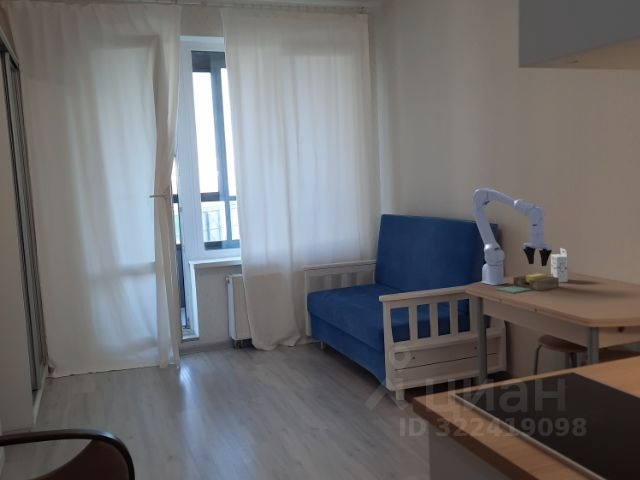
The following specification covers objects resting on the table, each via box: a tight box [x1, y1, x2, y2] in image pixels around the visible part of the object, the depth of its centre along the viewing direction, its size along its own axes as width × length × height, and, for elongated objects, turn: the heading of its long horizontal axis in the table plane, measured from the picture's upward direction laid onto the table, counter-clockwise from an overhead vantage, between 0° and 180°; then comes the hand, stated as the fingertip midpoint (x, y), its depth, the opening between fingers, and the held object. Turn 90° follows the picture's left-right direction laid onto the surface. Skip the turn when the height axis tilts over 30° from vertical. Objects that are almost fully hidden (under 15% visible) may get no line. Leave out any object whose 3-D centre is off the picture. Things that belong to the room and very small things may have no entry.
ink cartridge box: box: [550, 247, 569, 283], centre depth 282 cm, size 9×5×15 cm, turn 179°
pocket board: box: [513, 273, 560, 291], centre depth 273 cm, size 14×12×4 cm
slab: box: [526, 273, 547, 282], centre depth 273 cm, size 4×8×3 cm, turn 116°
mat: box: [496, 285, 532, 294], centre depth 268 cm, size 10×10×1 cm
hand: (537, 265), depth 273 cm, fingers open, 7 cm apart
